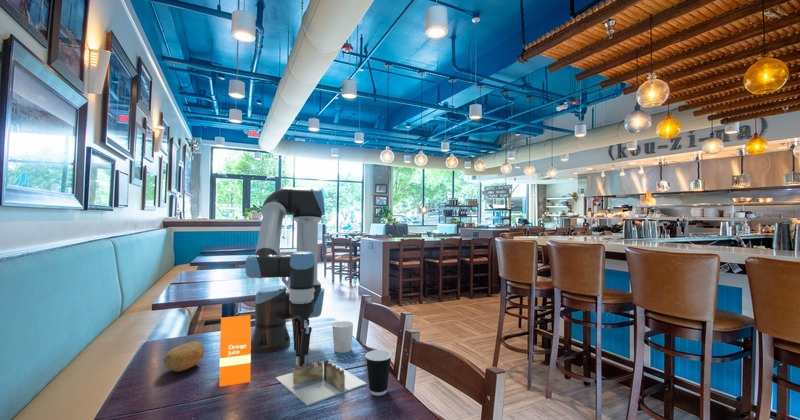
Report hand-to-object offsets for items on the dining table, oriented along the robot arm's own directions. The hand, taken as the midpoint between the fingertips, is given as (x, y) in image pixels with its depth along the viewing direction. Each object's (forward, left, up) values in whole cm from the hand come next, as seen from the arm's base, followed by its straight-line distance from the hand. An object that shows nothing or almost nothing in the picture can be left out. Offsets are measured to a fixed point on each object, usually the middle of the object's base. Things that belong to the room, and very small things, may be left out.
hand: (300, 375), depth 116 cm
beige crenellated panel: (+3, +1, -1) cm, 3 cm away
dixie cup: (+22, +15, -2) cm, 26 cm away
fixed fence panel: (+9, +7, -2) cm, 11 cm away
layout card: (+5, +5, -2) cm, 7 cm away
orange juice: (-14, -15, -2) cm, 21 cm away
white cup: (-14, +25, -2) cm, 29 cm away
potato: (-33, -26, -2) cm, 43 cm away
